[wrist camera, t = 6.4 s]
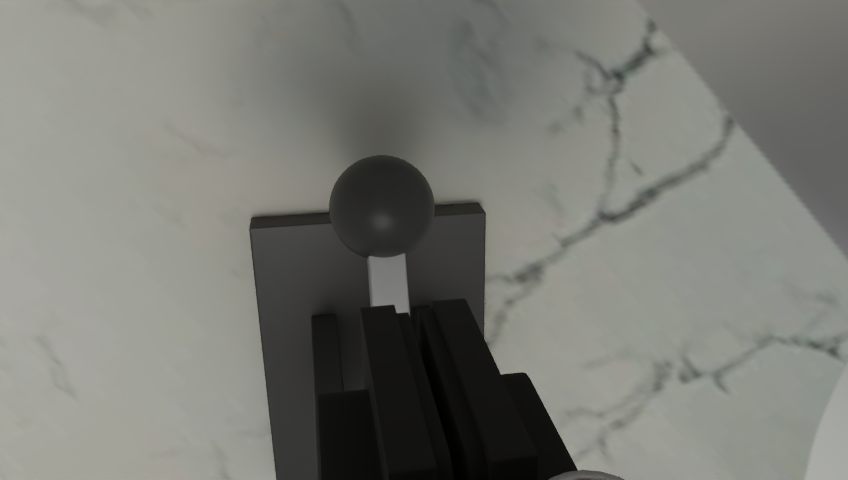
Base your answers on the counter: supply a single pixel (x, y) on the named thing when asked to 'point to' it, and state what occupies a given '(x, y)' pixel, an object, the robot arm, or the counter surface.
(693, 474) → the counter surface
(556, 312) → the counter surface
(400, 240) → the ball-topped lever switch
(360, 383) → the ball-topped lever switch base
